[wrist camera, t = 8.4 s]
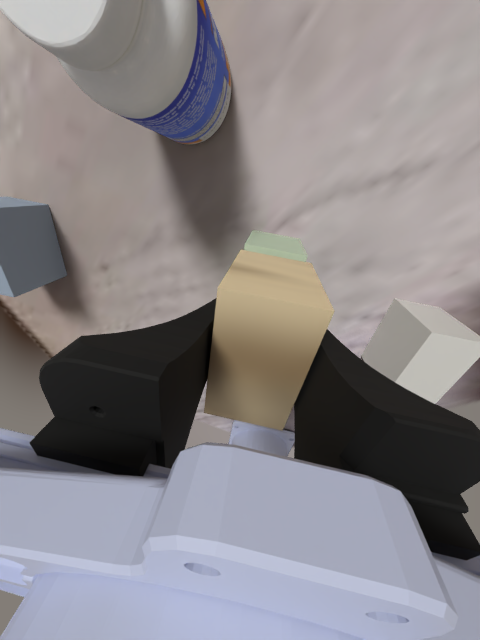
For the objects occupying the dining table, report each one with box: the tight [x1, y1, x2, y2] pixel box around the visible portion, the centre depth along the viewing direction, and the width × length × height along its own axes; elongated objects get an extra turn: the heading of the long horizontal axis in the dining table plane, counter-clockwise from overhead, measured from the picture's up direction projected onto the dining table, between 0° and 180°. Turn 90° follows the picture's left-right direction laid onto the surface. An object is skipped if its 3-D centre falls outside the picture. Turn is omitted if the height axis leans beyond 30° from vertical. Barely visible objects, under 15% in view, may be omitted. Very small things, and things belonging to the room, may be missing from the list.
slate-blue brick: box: [0, 197, 67, 297], centre depth 17 cm, size 6×4×5 cm, turn 171°
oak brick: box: [204, 250, 334, 431], centre depth 10 cm, size 6×4×5 cm, turn 171°
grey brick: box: [361, 298, 480, 404], centre depth 17 cm, size 6×4×5 cm, turn 171°
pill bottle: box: [0, 0, 231, 144], centre depth 9 cm, size 5×5×10 cm
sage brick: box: [244, 230, 307, 262], centre depth 16 cm, size 6×4×5 cm, turn 171°
